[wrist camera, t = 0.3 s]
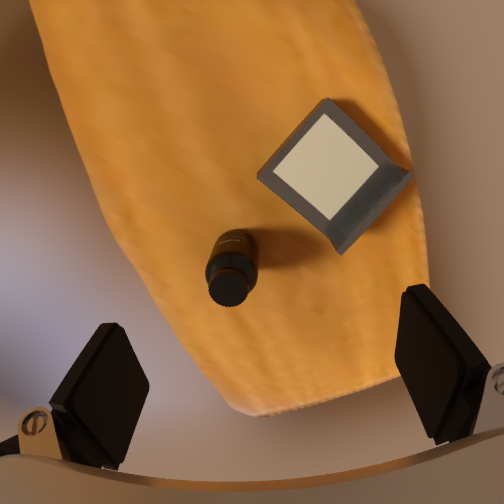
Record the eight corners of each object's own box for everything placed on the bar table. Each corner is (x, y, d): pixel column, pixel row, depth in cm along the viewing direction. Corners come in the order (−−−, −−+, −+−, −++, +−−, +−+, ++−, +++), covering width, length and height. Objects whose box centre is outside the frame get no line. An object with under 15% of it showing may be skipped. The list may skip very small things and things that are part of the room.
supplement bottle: (235, 219, 45) (227, 252, 34) (268, 249, 47) (270, 290, 36) (204, 250, 47) (188, 290, 36) (236, 278, 49) (230, 323, 38)
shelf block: (256, 173, 43) (256, 184, 35) (321, 99, 38) (335, 94, 31) (328, 233, 46) (341, 255, 39) (390, 166, 41) (414, 176, 34)
